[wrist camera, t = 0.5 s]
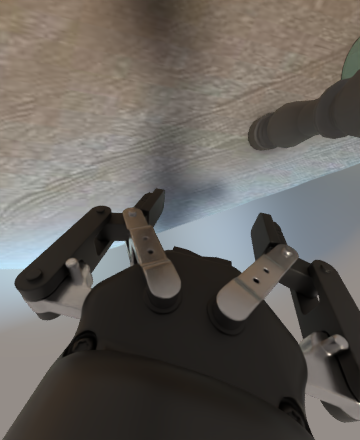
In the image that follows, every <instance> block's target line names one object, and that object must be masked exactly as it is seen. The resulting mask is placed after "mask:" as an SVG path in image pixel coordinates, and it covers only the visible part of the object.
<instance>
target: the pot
mask: <svg viewBox="0 0 360 440" xmlns="http://www.w3.org/2000/svg"><path fill="white" fill-rule="evenodd" d="M359 69H360V38H359V39H358V40H357V41H356V42H355V44H354V45H353V47H352V48H351V50H350V52H349V54H348V56H347V58H346V61H345V63H344V67H343V71H342V80H343V79H347V78H351V77H353V76H354V74H355V73H356V72H357V71H358V70H359Z"/></svg>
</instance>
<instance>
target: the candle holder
mask: <svg viewBox="0 0 360 440" xmlns="http://www.w3.org/2000/svg"><path fill="white" fill-rule="evenodd" d="M319 134H320V135H321V136H323V137H326V138H331V139H336V138H341V137H346V136H348V135H350V136H354V137H359V138H360V69H359V70H358V71H357V72H356V73H355V74H354V76H353V77H351V78H347V79H343V80H340V81H338V82H337V83H335V84H334V85H332V86H331V87H329V88H328V89H326V91H325V92H324V93H323V94H322V95H321V97H320V98H318V99H316V100H311V101H296V102H291V103H287V104H285V105H283V106H282V107H280V108H279V109H277V110H276V112H273V113H269V114H266V115H264V116H262V117H260V118H259V119H257V120H256V121H254V123H253V124H252V125H251V127H250V129H249V132H248V141H249V143H250V145H251V146H252V147H253V148H255V149H257V150H269V149H274V148H276V147H282V148H288V147H293V146H296V145H298V144H299V143H301V142H303V141H305V140H307V139H309V138H311V137H313V136H315V135H319Z"/></svg>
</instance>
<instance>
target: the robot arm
mask: <svg viewBox="0 0 360 440" xmlns="http://www.w3.org/2000/svg"><path fill="white" fill-rule="evenodd" d="M164 199H165V190H162V189H158V188H156V189H155V190H154V192H153V193H150V192H149V193H147V194H145V195H144V196H143V197H142V198H141V199H140V200H139V202H138V203H137V204H136V205H135V206H134V207H132V208H127V209H125V210H124V211H123V213H111V209H110V208H109V207H107V206H97V207H94V208H92V209H91V210H90V211H89V212H88V213H86V214H85V215H84V216H83V217H82V218H81V219H80V220H79V221H78V222H76V223H75V224H74V225H73V226H72V227H71V228H70V229H69V230H68V231H66V232H65V233H64V234H63V235H62V236H61V237H60V238H59V239H58V240H56V241H55V242H54V243H53V244H52V245H51V246H50V247H49V248H48V249H46V250H45V251H44V252H43V253H42V254H41V255H40V256H39V257H38V258H36V259H35V260H34V261H33V262H32V263H31V264H30V265H29V266H28V267H26V268H25V269H24V270H23V271H22V272H21V273H20V274H19V275H18V276H17V278H16V279H15V286H16V288H17V290H18V291H19V292H20V293H21V295H22V297H23V299H24V300H25V301H26V303H27V304H28V305H29V306H30V308H31V309H32V310H33V311H34V312H35V313H36V314H37V315H38V316H39V318H40V319H42V320H52V319H55V318H57V317H58V316H60V315H65V316H69V317H73V318H77V319H80V322H79V326H78V329H77V331H76V333H75V336H74V338H73V339H72V341H71V343H70V344H69V345H68V347H67V348H66V349H65V350H64V352H63V353H62V354H61V355H60V356H59V358H58V359H57V360H56V361H55V362H54V364H53V365H52V366H51V367H50V369H49V370H48V372H47V373H46V375H45V376H44V377H43V379H42V380H41V382H40V384H39V385H38V387H37V388H36V390H35V391H34V393H33V394H32V396H31V397H30V399H29V400H28V402H27V403H26V405H25V406H24V408H23V409H22V411H21V412H20V414H19V415H18V417H17V418H16V420H15V421H14V423H13V424H12V426H11V427H10V429H9V430H8V432H7V434H6V435H5V437H4V438H3V440H315V439H314V437H313V435H312V433H311V430H310V428H309V425H308V422H307V419H306V414H305V394H308V395H310V396H312V397H315V398H317V399H320V401H321V402H322V404H323V406H324V407H325V408H326V410H327V411H328V412H329V413H330V414H331V415H332V416H333V417H334V418H335V419H337V420H339V421H341V422H353V421H360V311H359V309H358V307H357V306H356V304H355V302H354V300H353V299H352V297H351V295H350V293H349V292H348V290H347V288H346V286H345V285H344V283H343V281H342V279H341V277H340V276H339V274H338V272H337V271H336V270H335V269H334V268H333V267H332V266H331V265H329V264H328V263H326V262H324V261H321V260H314V261H313V262H312V263H311V264H310V263H308V262H306V261H304V260H302V259H300V258H298V257H299V256H298V253H297V252H296V251H295V250H294V249H293V248H292V247H290V246H288V245H287V243H286V241H285V238H284V236H283V233H282V232H281V228H280V226H279V225H278V224H277V223H276V222H273V220H272V217H271V215H269V214H264V213H260V214H259V215H258V217H257V219H256V221H255V223H254V225H253V227H252V230H251V238H252V244H253V250H254V255H255V262H254V263H253V264H252V265H251V266H250V267H248V268H247V269H246V270H245V271H244V272H243V273H241V272H240V271H239V270H237V269H236V268H234V267H233V266H232V263H231V261H228V260H224V259H221V258H217V257H202V256H200V255H198V254H196V253H193V252H191V251H189V250H187V249H183V248H179V247H175V246H174V248H173V250H166V251H164V250H163V248H162V245H161V244H160V241H159V239H158V237H157V235H156V233H155V231H154V229H153V227H154V225H155V224H156V222H157V220H158V218H159V217H160V215H161V213H162V211H163V208H164ZM114 241H125V244H126V248H127V251H128V255H129V259H130V264H131V266H130V267H129V268H126V269H125V270H123V271H121V272H119V273H117V274H115V275H113V276H111V277H109V278H107V279H105V280H103V281H102V282H100V283H98V284H97V285H96V286H95V287H94V288H91V285H92V284H93V277H92V274H91V273H92V272H93V270H94V269H95V267H96V266H97V265H98V263H99V262H100V260H101V259H102V257H103V256H104V255H105V253H106V252H107V250H108V249H109V248H110V246H111V245H112V243H113V242H114ZM278 282H279V283H281V284H283V285H284V286H286V287H288V288H290V291H291V295H292V299H293V302H294V306H295V310H296V314H297V317H298V321H299V325H300V329H301V333H302V336H303V340H302V341H301V342H300V344H298V342H297V341H296V340H295V338H294V337H293V336H292V334H291V333H290V332H289V331H288V329H287V328H286V327H285V326H284V324H283V323H282V322H281V320H280V319H279V318H278V317H277V315H276V314H275V313H274V312H273V310H272V309H271V308H270V307H269V305H268V304H267V303H266V302H265V300H264V299H265V297H266V296H267V295H268V294H269V293H270V291H271V290H272V289H273V288H274V287H275V285H276V284H277V283H278ZM317 295H319V301H318V298H317Z"/></svg>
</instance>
